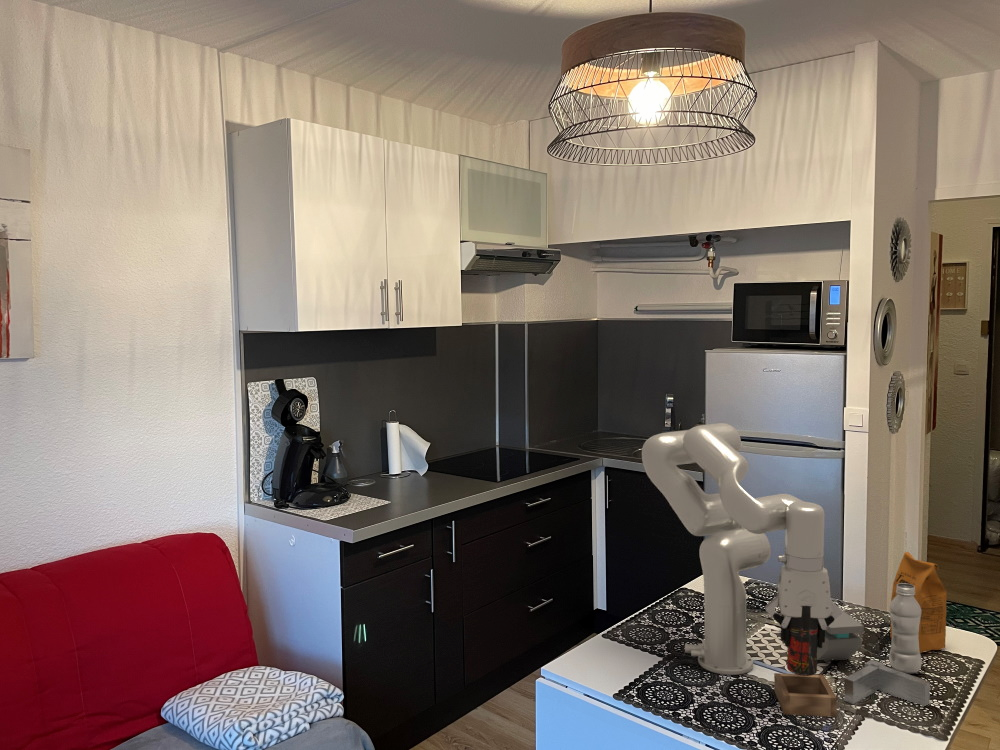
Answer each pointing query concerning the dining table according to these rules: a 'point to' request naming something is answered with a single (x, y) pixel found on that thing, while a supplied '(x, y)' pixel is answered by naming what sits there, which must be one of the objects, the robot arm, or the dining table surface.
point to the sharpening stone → (841, 639)
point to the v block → (885, 684)
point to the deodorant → (803, 644)
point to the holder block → (805, 695)
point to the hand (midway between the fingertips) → (802, 643)
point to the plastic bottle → (905, 630)
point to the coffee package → (925, 600)
